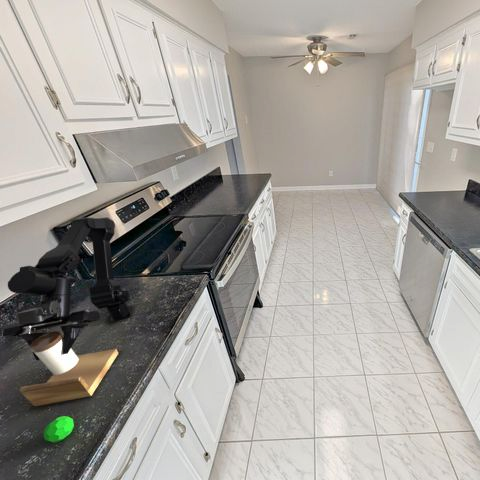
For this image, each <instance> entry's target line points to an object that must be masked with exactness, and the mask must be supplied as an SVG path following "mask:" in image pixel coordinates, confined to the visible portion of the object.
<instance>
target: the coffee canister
mask: <svg viewBox="0 0 480 480" xmlns="http://www.w3.org/2000/svg"><path fill="white" fill-rule="evenodd" d="M45 333H46V334H44V335H42V336H40V337H38V338H37V339H35V340H34V341H33V342H32V343H31V344H30V346H29V345H28V346H29V347H28V348H29V350H31V352H32V351H33V352H34V353H35V354H36V355H37V356H38V358H39V359H40V360H39V361H41V363H43V365H44V366H45V367H46V369H48V370H49V372H50V373H51V374H52V375H53V374H54V375H59V374H62V373H64V372H67V371H68V370H70V369H71V368H73V367H74V366H75V365H76V364H77V362H78V360H79V358H78V357H77V354H76V353H75V351H74V349H72V348H71V349H70V351H69V352H68V354H63V333H61V332H60V331H58V330H54V331H53V330H52V331H49V332H45ZM33 352H32V353H33Z"/></svg>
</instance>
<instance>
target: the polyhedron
mask: <svg viewBox="0 0 480 480" xmlns="http://www.w3.org/2000/svg"><path fill="white" fill-rule="evenodd" d="M74 423H75V422H74V419H73V418H71V417H69V416H67V415H62V416H59V417H57V418H56V419H55V418H54V420H53V421H51V422H50V423H49V424H47V425H46V426H45V429H44V431H43V438H44V440H45V441H48V442H50V443H57V442H61V441H62V440H64V439H66V438H67V436H69V435H70V434H71V433H72V431H73V429H74V428H75V424H74Z"/></svg>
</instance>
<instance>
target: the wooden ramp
mask: <svg viewBox="0 0 480 480" xmlns="http://www.w3.org/2000/svg"><path fill="white" fill-rule="evenodd" d="M76 355H77V354H76ZM118 355H119V351H118V350H117V348H114V349H108V350H101V351H96V352H90V353H83V354H78V355H77V357H78V358H79V360H78V362H77V364H76V365H75V366H74V367H73V368H71V369H70V370H68V371H67V372H64V373H62V374H59V375H54V374H52V376H50V378H49V379H48V380H47V381H46V382H42V383H36V384H31V385H25V386H21V387H20V388H19V389H18V392H19V393H21V394H22V396H23V397H25V399H27V401H29V403H31V405H32V406H33V407H39V406H45V405H50V404H55V403H60V402H65V401H71V400H77V399H82V398H87V397H92V396H93V394H94V393H95V391H96V389H97V388H98V386H99V385H100V383H101V381H102V380H103V379H104V377H105V375H106V373H108V371H109V369H110V368H111V366H112V364H113V363H114V361H115V360H116V358H117V356H118Z"/></svg>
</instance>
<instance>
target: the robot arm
mask: <svg viewBox="0 0 480 480" xmlns="http://www.w3.org/2000/svg"><path fill="white" fill-rule="evenodd" d="M115 228H116V224H115V222H114V220H113V219H111V218H110V217H107V216H106V217H97V218H96V217H95V218H94V217H89V216H86V217H80V218H74V219H72V220H71V221H70V225H69V227H68V228H67V230H66V232H65V233H64V235H63V236H62V237H61V239H60V241H59V242H58V244H57V245H56V246H55V247H54V248H52V249H50V250H48V251H46V252H45V253H44V254H43V255H42V256H40V258H39V259H38V261H37V263H36V264H35V265H33V266H32V265H26V266H25V265H24V266H19V271H18V272H16V273H14V274H13V275H12V276H11V277H10V279H9V280H8V281H7V289H8V290H9V291H10V292H11V293H13V294H20V295H27V296H28V295H29V296H36V297H38V296H39V297H40V301H36V302H35V304H34V307H33V308H29V309H26V310H22V311H20V312H19V311H18V312H16V313H15V316H16V321H17V323H14V324H13V323H12V324H8V325H6V326H5V327H4V328H3V329H2V334H1V338H16V339H23V340H24V341H25V342H26V343H27V344H28V346H30V344H31V343H32V342H33V341H34V340H35V339H37V338H38V337H40V336H42V335H44V334H46V333H47V332H43V330H45V329H49V328H54V327H60V329H61V331H62V337H63V354H68V352H69V351H70V349H72V347H73V346H74V344H75V342H76V341H77V339H78V337H79V335H80V334H81V333H82V332H83V330H84V329H85V328H86V327H88V326H89V323H93V322H99V321H100V320H101V313H100V312H99V311H98V310H102V309H106V310H107V312H108V313H109V315H110V319H109V323H110V324H113V323H115V322H119V321H121V320H124V319H128V318H130V317H131V316H132V310H133V305H130V306H128V304H127V302H129V301H130V293H129V290H123V289H122V287H121V285H120V284H119V282H117V281H116V280H115V277H114V276H115V275H114V267H113V258H112V249H111V240H112V239H113V237H114V236H115ZM86 238H87V239H89V240H90V242H91V243H92V253H93V262H94V271H95V282H94V284H93V286H90V287H89V293H90V294H89V300H90V303H91V304H92V305H93V306H94V307H96V308H97V309H98V310H91V309H84V310H79V311H73V312H71V313H70V311H71V305H74V303H75V300H74V299H71V293H72V284H77V279H76V278H75V277H73V276H72V275H71V274H69V273H72V272H75V271H76V270H77V269H78V266H79V263H80V260H81V259H80V258H81V257H80V256H79V251H80V249H81V247H82V246H83V244H84V243H85V240H86ZM62 274H66V275H62ZM31 352H32V354H33V357H34V359H35V361H41V360H40V359H39V358H38V356H37V355H36V354H35V353H34V352H33V351H32V350H31Z"/></svg>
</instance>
